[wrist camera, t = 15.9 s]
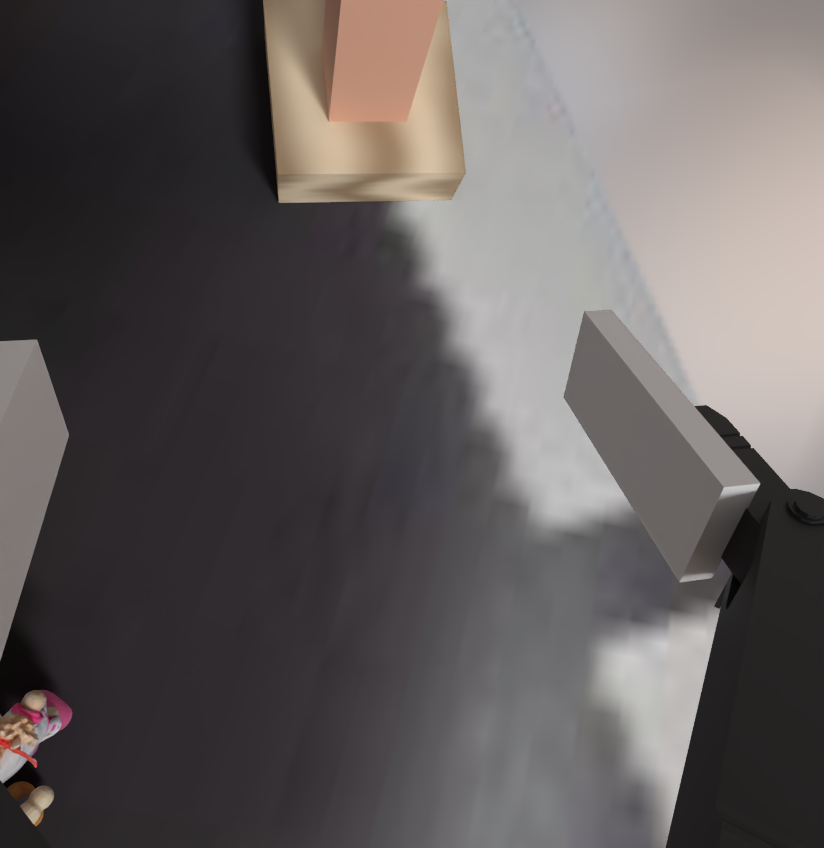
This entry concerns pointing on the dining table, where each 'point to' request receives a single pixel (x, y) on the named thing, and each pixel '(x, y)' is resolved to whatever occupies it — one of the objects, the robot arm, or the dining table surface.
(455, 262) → the dining table surface
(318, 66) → the plinth
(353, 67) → the block
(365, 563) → the dining table surface
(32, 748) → the doll family
